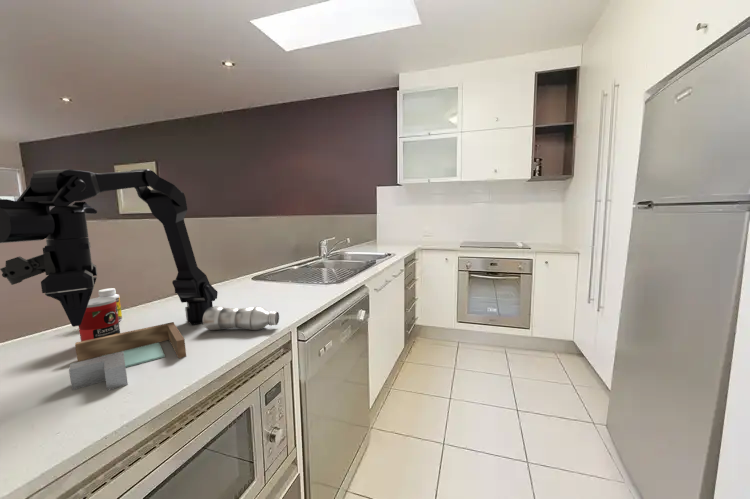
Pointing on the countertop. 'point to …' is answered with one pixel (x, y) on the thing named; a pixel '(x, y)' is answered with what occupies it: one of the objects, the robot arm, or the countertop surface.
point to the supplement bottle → (112, 293)
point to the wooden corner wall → (131, 341)
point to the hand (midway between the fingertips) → (78, 319)
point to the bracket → (99, 371)
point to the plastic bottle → (239, 318)
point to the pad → (142, 354)
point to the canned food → (100, 319)
